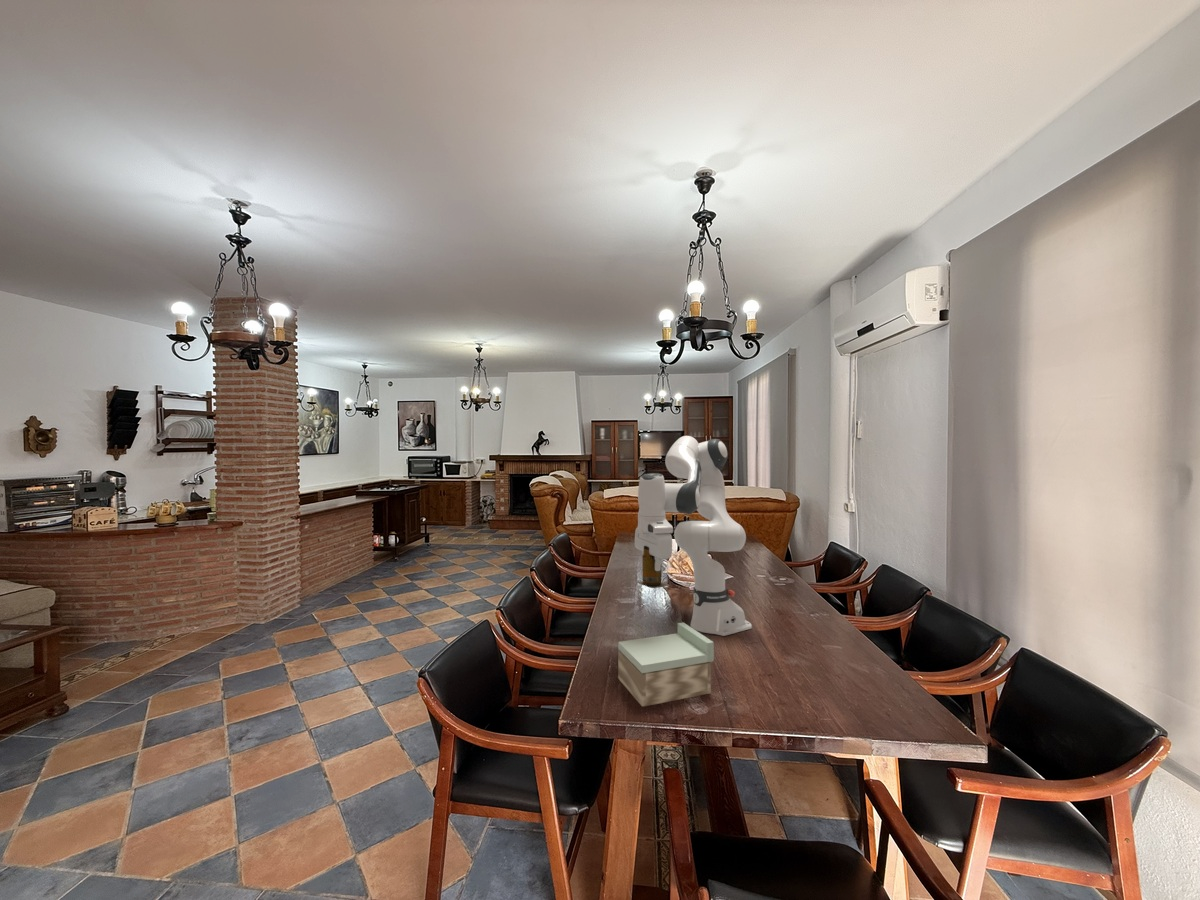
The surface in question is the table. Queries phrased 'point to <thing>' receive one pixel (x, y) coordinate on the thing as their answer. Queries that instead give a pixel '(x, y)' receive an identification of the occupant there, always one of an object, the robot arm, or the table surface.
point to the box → (664, 682)
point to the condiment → (650, 571)
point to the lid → (668, 650)
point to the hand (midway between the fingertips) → (651, 567)
